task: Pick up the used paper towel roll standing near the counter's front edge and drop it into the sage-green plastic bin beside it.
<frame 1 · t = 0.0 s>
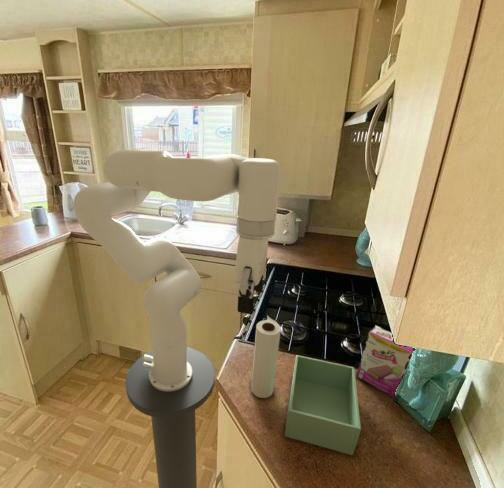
hand: (250, 300, 68), 32 cm above the worktop, tool pointing down, fingers open, 9 cm apart
candy bar box: (377, 384, 89), on the worktop
paper towel roll: (263, 389, 87), on the worktop
bin: (318, 411, 80), on the worktop
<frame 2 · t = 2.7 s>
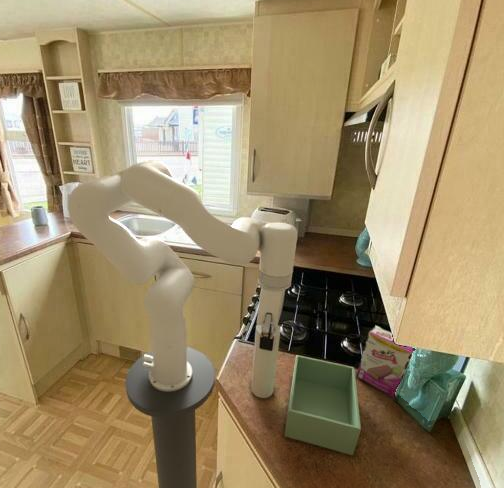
hand: (268, 337, 79), 18 cm above the worktop, tool pointing down, fingers closed on paper towel roll, 8 cm apart
paper towel roll: (263, 389, 87), on the worktop, touching gripper
everything else where it was.
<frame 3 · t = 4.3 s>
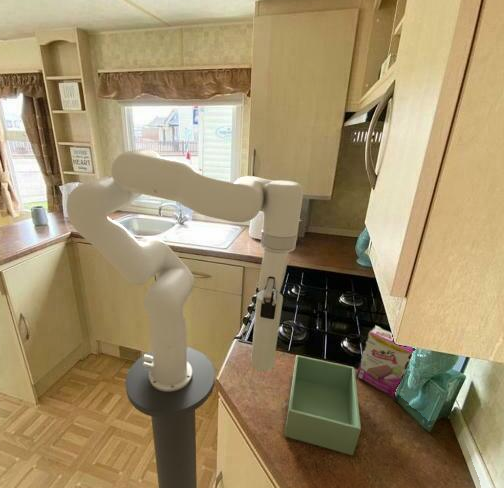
hand: (270, 307, 75), 27 cm above the worktop, tool pointing down, fingers closed on paper towel roll, 8 cm apart
paper towel roll: (263, 363, 83), point 9 cm above the worktop, touching gripper
everything else where it was.
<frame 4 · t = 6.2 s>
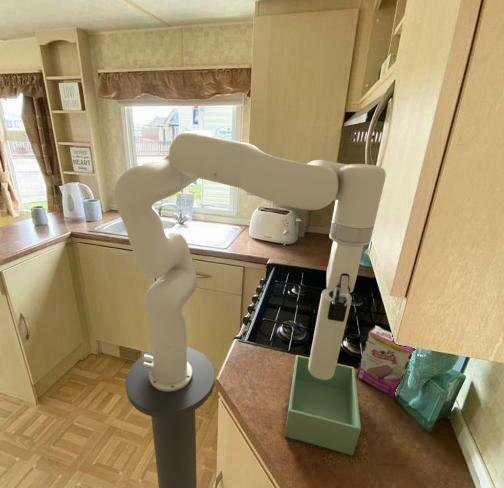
hand: (335, 308, 67), 31 cm above the worktop, tool pointing down, fingers closed on paper towel roll, 8 cm apart
paper towel roll: (321, 370, 75), point 13 cm above the worktop, touching gripper
everything else where it was.
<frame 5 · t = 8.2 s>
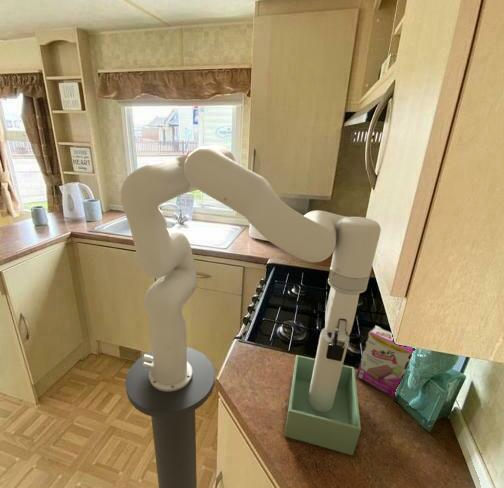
hand: (333, 345, 71), 21 cm above the worktop, tool pointing down, fingers closed on paper towel roll, 8 cm apart
paper towel roll: (320, 401, 79), point 4 cm above the worktop, touching gripper
everything else where it was.
when the fingers open (18 cm above the worktop, at t = 9.8 s): paper towel roll stays where it is, resting on bin.
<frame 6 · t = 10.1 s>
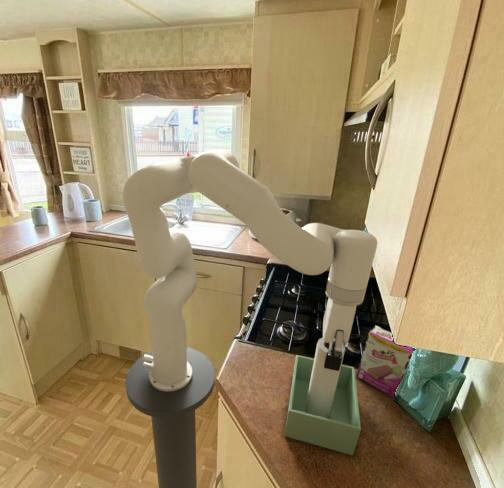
hand: (331, 354, 72), 19 cm above the worktop, tool pointing down, fingers open, 9 cm apart
paper towel roll: (318, 410, 80), resting on bin
everything else where it was.
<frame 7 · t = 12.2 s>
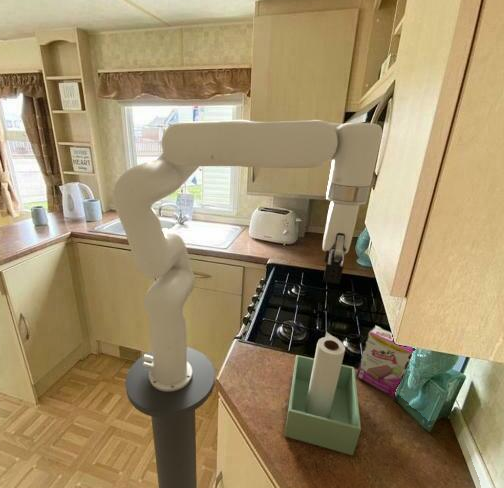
hand: (331, 271, 68), 38 cm above the worktop, tool pointing down, fingers open, 9 cm apart
nothing on the worktop moved.
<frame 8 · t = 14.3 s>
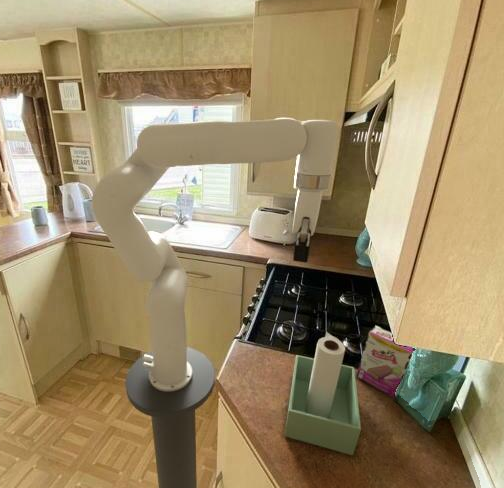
hand: (301, 253, 76), 38 cm above the worktop, tool pointing down, fingers open, 9 cm apart
nothing on the worktop moved.
at the end: paper towel roll inside the target area in the bin (0.3 cm from its centre), point 0.4 cm above the bin's base; the gripper is holding nothing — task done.
